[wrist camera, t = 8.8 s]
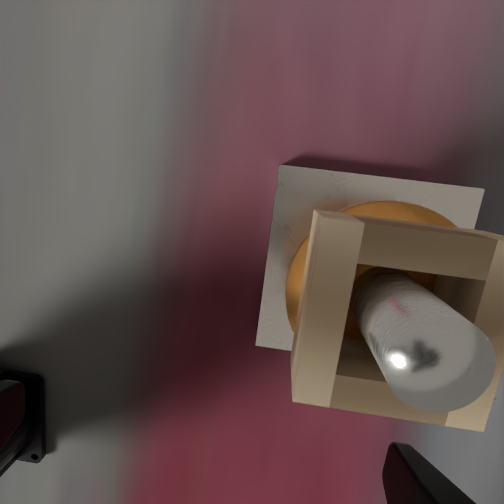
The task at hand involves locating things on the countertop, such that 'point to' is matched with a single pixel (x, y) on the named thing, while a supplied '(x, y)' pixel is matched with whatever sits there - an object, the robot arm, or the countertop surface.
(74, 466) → the countertop surface
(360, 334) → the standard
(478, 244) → the collar
